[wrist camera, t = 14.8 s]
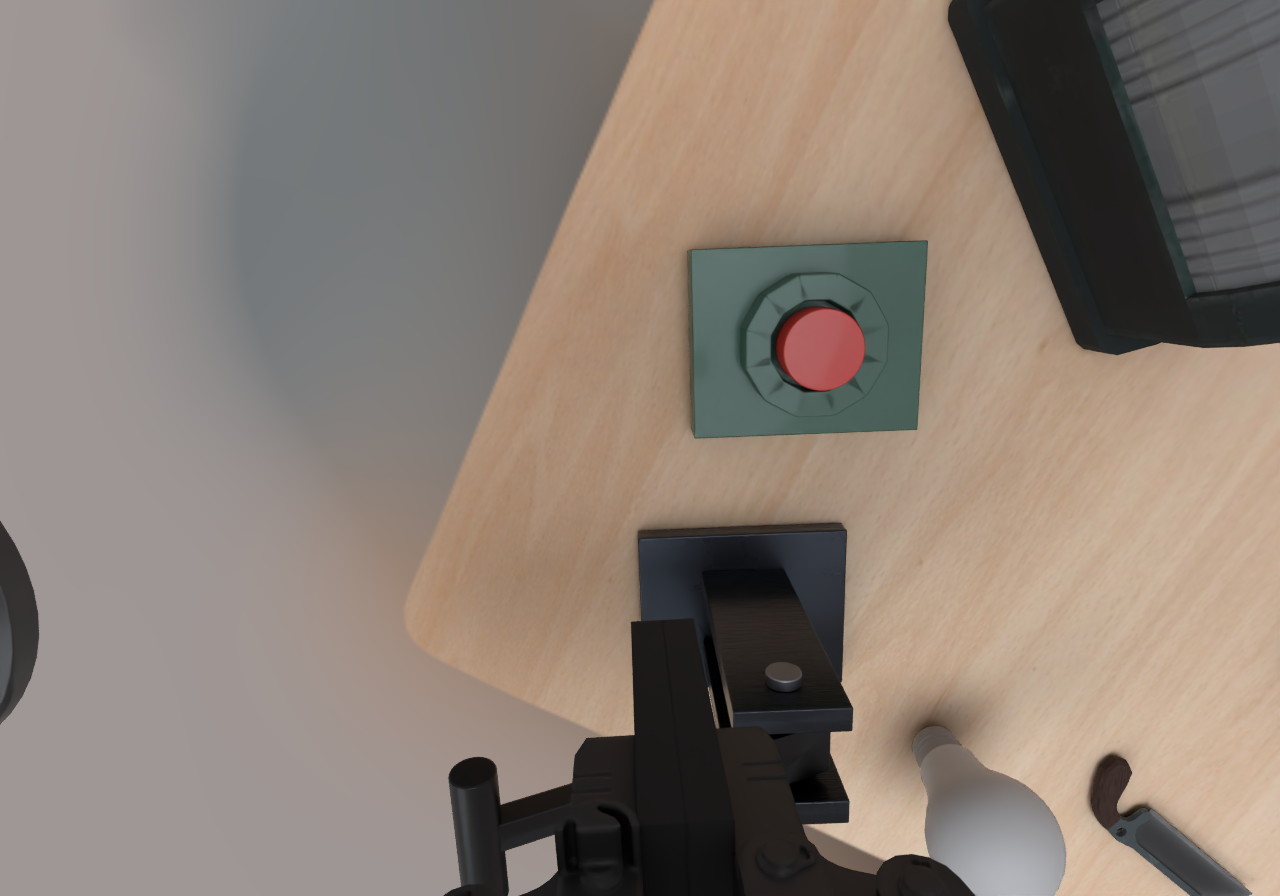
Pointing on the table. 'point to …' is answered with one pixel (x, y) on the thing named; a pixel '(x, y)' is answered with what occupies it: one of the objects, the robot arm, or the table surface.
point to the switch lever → (558, 807)
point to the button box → (758, 308)
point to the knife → (1158, 838)
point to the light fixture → (1141, 159)
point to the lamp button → (820, 348)
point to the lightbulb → (986, 822)
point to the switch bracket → (762, 630)
